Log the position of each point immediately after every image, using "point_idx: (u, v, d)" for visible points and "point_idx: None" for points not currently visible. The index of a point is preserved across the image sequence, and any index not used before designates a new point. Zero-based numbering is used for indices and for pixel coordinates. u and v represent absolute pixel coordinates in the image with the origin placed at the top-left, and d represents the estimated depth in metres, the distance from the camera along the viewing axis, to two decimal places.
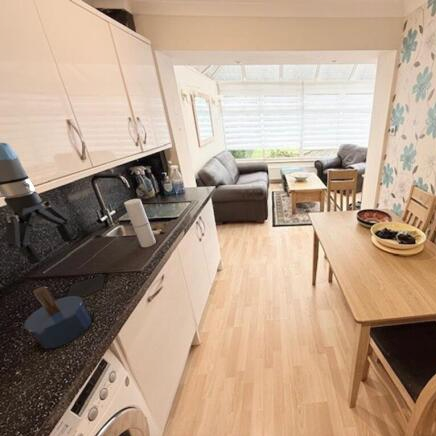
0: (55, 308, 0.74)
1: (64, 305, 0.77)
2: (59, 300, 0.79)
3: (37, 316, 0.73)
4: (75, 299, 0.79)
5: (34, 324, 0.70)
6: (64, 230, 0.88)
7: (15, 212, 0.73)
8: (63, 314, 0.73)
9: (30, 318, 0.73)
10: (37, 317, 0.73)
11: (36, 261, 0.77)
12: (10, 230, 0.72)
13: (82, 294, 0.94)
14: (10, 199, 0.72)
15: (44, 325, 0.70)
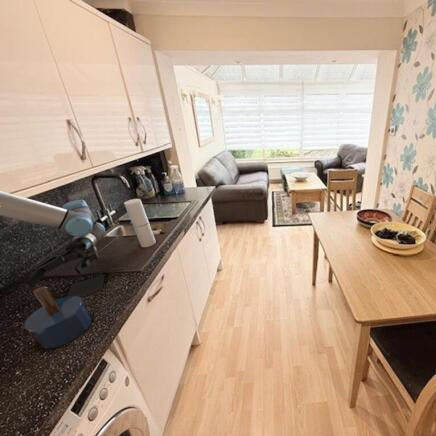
0: (55, 308, 0.74)
1: (64, 305, 0.77)
2: (59, 300, 0.79)
3: (37, 316, 0.73)
4: (75, 299, 0.79)
5: (34, 324, 0.70)
6: (41, 276, 0.82)
7: (87, 247, 0.94)
8: (63, 314, 0.73)
9: (30, 318, 0.73)
10: (37, 317, 0.73)
11: (81, 271, 0.81)
12: (95, 251, 0.91)
13: (82, 294, 0.94)
14: None
15: (44, 325, 0.70)
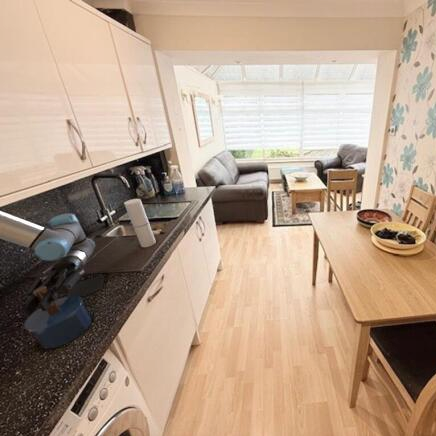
0: (55, 308, 0.74)
1: (64, 305, 0.77)
2: (59, 300, 0.79)
3: (37, 316, 0.73)
4: (75, 299, 0.79)
5: (34, 324, 0.70)
6: (38, 302, 0.71)
7: (76, 268, 0.84)
8: (63, 314, 0.73)
9: (30, 318, 0.73)
10: (37, 317, 0.73)
11: (46, 308, 0.69)
12: (76, 277, 0.80)
13: (82, 294, 0.94)
14: None
15: (44, 325, 0.70)
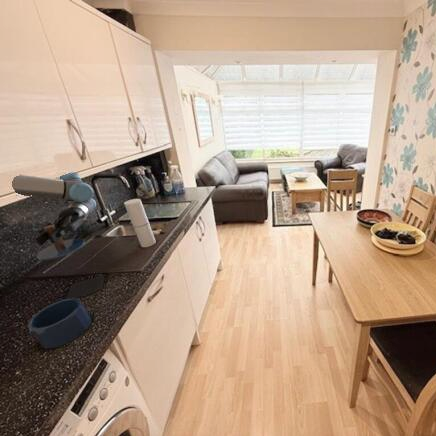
0: (62, 244, 0.87)
1: (69, 244, 0.90)
2: (65, 241, 0.93)
3: (47, 251, 0.87)
4: (79, 240, 0.92)
5: (45, 255, 0.84)
6: (48, 237, 0.85)
7: (80, 216, 0.98)
8: (69, 249, 0.87)
9: (41, 252, 0.86)
10: (47, 251, 0.86)
11: (54, 240, 0.82)
12: (79, 222, 0.93)
13: (82, 294, 0.94)
14: None
15: (53, 255, 0.83)
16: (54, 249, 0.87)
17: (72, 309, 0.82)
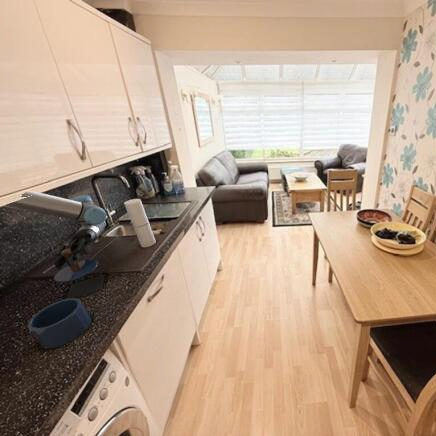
0: (77, 266, 0.93)
1: (84, 265, 0.96)
2: (79, 262, 0.99)
3: (63, 272, 0.93)
4: (92, 261, 0.99)
5: (62, 277, 0.90)
6: (65, 260, 0.91)
7: (92, 238, 1.04)
8: (84, 271, 0.93)
9: (58, 274, 0.92)
10: (63, 273, 0.92)
11: (71, 264, 0.88)
12: (92, 244, 0.99)
13: (82, 294, 0.94)
14: None
15: (70, 278, 0.89)
16: (70, 271, 0.93)
17: (72, 309, 0.82)
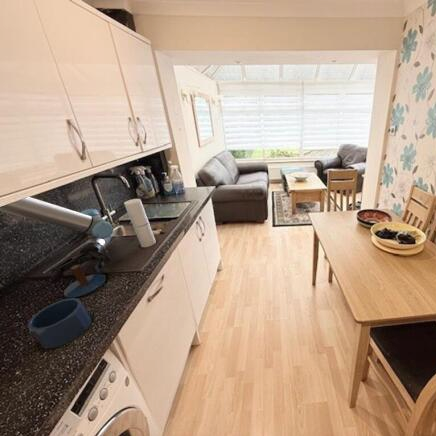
0: (86, 282, 0.97)
1: (92, 280, 1.00)
2: (87, 277, 1.02)
3: (72, 287, 0.96)
4: (100, 276, 1.02)
5: (71, 293, 0.93)
6: (61, 275, 0.95)
7: (99, 251, 1.07)
8: (92, 286, 0.96)
9: (67, 289, 0.96)
10: (72, 288, 0.96)
11: (97, 271, 0.95)
12: None
13: None
14: None
15: (79, 293, 0.93)
16: (78, 286, 0.97)
17: (72, 309, 0.82)
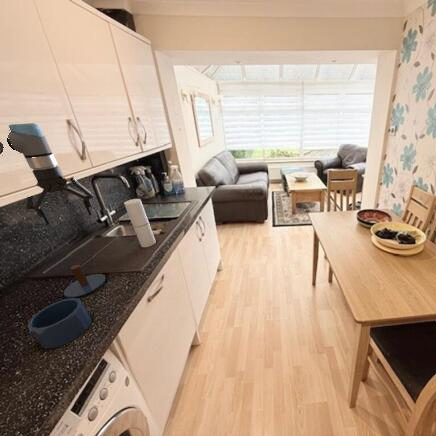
0: (86, 282, 0.97)
1: (92, 280, 1.00)
2: (87, 277, 1.02)
3: (72, 287, 0.96)
4: (100, 276, 1.02)
5: (71, 293, 0.93)
6: (45, 211, 0.94)
7: (63, 177, 0.93)
8: (92, 286, 0.96)
9: (67, 289, 0.96)
10: (72, 288, 0.96)
11: (91, 212, 1.02)
12: (81, 185, 0.96)
13: None
14: (57, 167, 0.91)
15: (79, 293, 0.93)
16: (78, 286, 0.97)
17: (72, 309, 0.82)
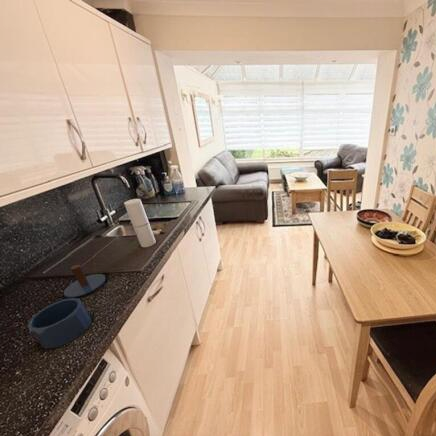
0: (86, 282, 0.97)
1: (92, 280, 1.00)
2: (87, 277, 1.02)
3: (72, 287, 0.96)
4: (100, 276, 1.02)
5: (71, 293, 0.93)
6: None
7: None
8: (92, 286, 0.96)
9: (67, 289, 0.96)
10: (72, 288, 0.96)
11: None
12: None
13: None
14: None
15: (79, 293, 0.93)
16: (78, 286, 0.97)
17: (72, 309, 0.82)
